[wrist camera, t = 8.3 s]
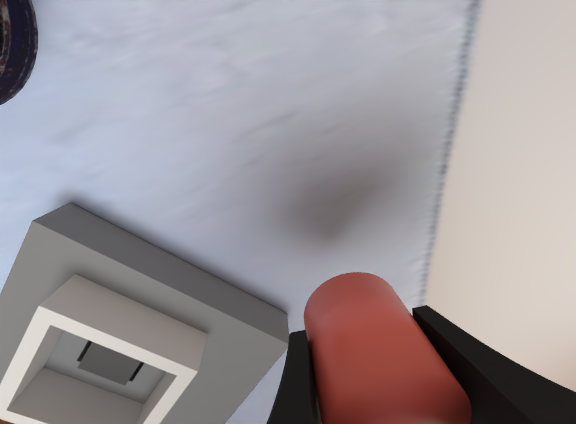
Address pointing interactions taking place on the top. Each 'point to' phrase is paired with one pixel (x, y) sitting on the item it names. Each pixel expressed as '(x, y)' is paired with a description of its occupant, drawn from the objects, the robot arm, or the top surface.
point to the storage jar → (16, 46)
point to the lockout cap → (376, 358)
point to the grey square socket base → (125, 330)
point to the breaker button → (108, 364)
